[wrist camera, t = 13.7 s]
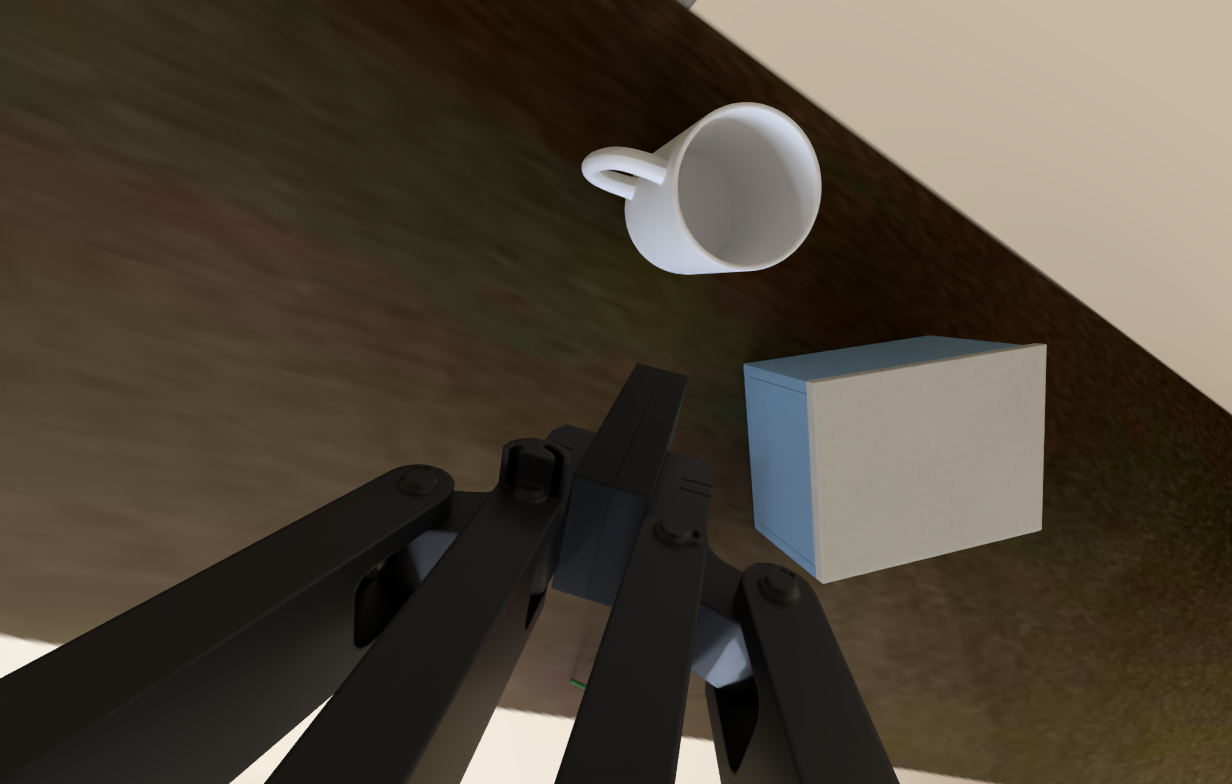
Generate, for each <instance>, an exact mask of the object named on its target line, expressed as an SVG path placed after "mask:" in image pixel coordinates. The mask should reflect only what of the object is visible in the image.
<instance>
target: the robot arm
mask: <svg viewBox="0 0 1232 784" xmlns="http://www.w3.org/2000/svg"><path fill="white" fill-rule="evenodd" d="M688 378H689V376H685V375H681V374H677V373H673V372H669V371H666V370H662V369H658V368H654V367H650V366H646V365H642V364H638V363H637V365H636V366H635V368H634V370H633V371H632V373H631V375H630V377H629V378H628V380H627V382H626V384H625V385H624V387H623V389H622V390H621V392H620V394H619V396H618V397H617V399H616V401H615V403H614V404H613V406H612V408H611V409H610V411H609V413H608V415H607V416H606V418H605V420H604V422H603V423H602V425H601V427H600V428H599V430H598V432H597V433H596V432H593V431H589V430H585V429H582V428H578V427H575V426H571V425H567V424H566V425H564V426H562V427H559V428H557V429H555V430H553V431H551V433H550V434H549V435H548V437H547V438H546V439H545V440H542V439H536V438H521V439H518V440H514V441H510V442H509V443H508V444H506V445H505V446H503V454H502V461H501V469H500V476H499V483H498V484H497V486H496V487H495V488H494V489H493V491H492V492H464V491H454V483H455V482H454V481H453V479H452V477H451V475H450V474H448V473H447V472H445V471H444V470H442V469H440V468H436V467H433V466H430V465H422V464H415V465H407V466H401V467H399V468H396V469H393V470H391V471H389V472H387V473H385V474H383V475H381V476H379V477H378V478H376V479H374V480H372V481H370V482H368V483H366V484H364V485H363V486H361V487H359V488H357V489H355V490H353V491H351V492H349V493H348V494H346V495H344V496H342V497H340V498H338V499H336V500H334V501H333V502H331V503H329V504H327V505H325V506H323V507H321V508H319V509H318V510H316V511H314V512H312V513H310V514H308V515H306V516H304V517H303V518H301V519H299V520H297V521H295V522H293V523H291V524H289V525H288V526H286V527H284V528H282V529H280V530H278V531H276V532H274V533H272V534H271V535H269V536H267V537H265V538H263V539H261V540H259V541H257V542H256V543H254V544H252V545H250V546H248V547H246V548H244V549H242V550H241V551H239V552H237V553H235V554H233V555H231V556H229V557H227V558H226V559H224V560H222V561H220V562H218V563H216V564H214V565H212V566H211V567H209V568H207V569H205V570H203V571H201V572H199V573H197V574H196V575H194V576H192V577H190V578H188V579H186V580H184V581H182V582H181V583H179V584H177V585H175V586H173V587H171V588H169V589H167V590H165V591H164V592H162V593H160V594H158V595H156V596H154V597H152V598H150V599H149V600H147V601H145V602H143V603H141V604H139V605H137V606H135V607H134V608H132V609H130V610H128V611H126V612H124V613H122V614H120V615H119V616H117V617H115V618H113V619H111V620H109V621H107V622H105V623H104V624H102V625H100V626H98V627H96V628H94V629H92V630H90V631H89V632H87V633H85V634H83V635H81V636H79V637H77V638H75V639H74V640H72V641H70V642H68V643H66V644H64V645H62V646H60V647H58V648H57V649H55V650H53V651H51V652H49V653H47V654H45V655H44V656H42V657H40V658H38V659H36V660H34V661H32V662H30V663H28V664H27V665H25V666H23V667H21V668H19V669H17V670H15V671H13V672H12V673H10V674H8V675H6V676H4V677H2V678H0V784H229V783H230V782H232V781H233V780H234V779H235V778H236V777H237V776H238V775H240V774H241V773H242V772H243V771H244V770H245V769H247V768H248V767H249V766H250V765H251V764H253V763H254V762H255V761H256V760H257V759H258V758H260V757H261V756H262V755H263V754H264V753H265V752H267V751H268V750H269V749H270V748H271V747H272V746H273V745H275V744H276V743H277V742H278V741H279V740H281V739H282V738H283V737H284V736H285V735H286V734H288V733H289V732H290V731H291V730H292V729H293V728H295V727H296V726H297V725H298V724H299V723H300V722H302V721H303V720H304V719H305V718H306V717H307V716H309V715H310V714H311V713H312V712H313V711H314V710H315V709H317V708H318V707H319V706H320V705H321V704H323V703H324V702H325V701H326V700H327V699H328V698H330V697H331V696H332V695H333V694H334V695H333V696H332V697H331V698H330V700H329V701H328V702H327V703H326V705H325V706H324V707H323V709H322V710H321V711H320V712H319V714H318V715H317V716H316V718H315V719H314V720H313V721H312V723H311V724H310V725H309V727H308V728H307V729H306V730H305V732H304V733H303V734H302V736H301V737H300V738H299V739H298V741H297V742H296V743H295V745H294V746H293V747H292V748H291V750H290V751H289V752H288V753H287V755H286V756H285V757H284V759H283V760H282V761H281V763H280V764H279V765H278V766H277V768H276V769H275V770H274V771H273V773H272V774H271V775H270V777H269V778H268V779H267V780H266V782H265V783H264V784H460V782H461V780H462V778H463V776H464V774H465V772H466V770H467V767H468V765H469V763H470V761H471V759H472V757H473V755H474V752H475V750H476V748H477V746H478V744H479V742H480V740H481V737H482V735H483V733H484V731H485V729H486V727H487V725H488V723H489V721H490V719H491V716H492V714H493V712H494V710H495V708H496V706H497V704H498V702H499V700H500V697H501V695H502V693H503V691H504V689H505V687H506V685H507V683H508V681H509V678H510V676H511V674H512V672H513V670H514V668H515V666H516V664H517V661H518V659H519V657H520V655H521V653H522V651H523V649H524V647H525V645H526V642H527V640H528V638H529V636H530V634H531V632H532V630H533V628H534V625H535V623H536V621H537V619H538V617H539V615H540V613H541V611H542V608H543V606H544V602H545V596H546V591H547V586H548V584H549V582H550V580H551V578H552V576H553V574H554V577H553V582H552V589H555V590H559V591H562V592H565V593H568V594H571V595H575V596H578V597H581V598H584V599H587V600H591V601H594V602H597V603H600V604H604V605H607V606H610V607H612V610H611V613H610V616H609V619H608V622H607V625H606V628H605V631H604V634H603V637H602V640H601V643H600V646H599V650H598V653H597V656H596V659H595V662H594V665H593V668H592V671H591V674H590V677H589V680H588V683H587V686H586V689H585V692H584V695H583V698H582V701H581V704H580V707H579V710H578V713H577V716H576V719H575V722H574V725H573V728H572V731H571V734H570V738H569V741H568V744H567V747H566V750H565V753H564V756H563V759H562V762H561V765H560V768H559V771H558V774H557V777H556V780H555V783H554V784H675V778H676V770H677V764H678V757H679V756H678V755H679V749H680V742H681V735H682V728H683V721H684V714H685V706H686V699H687V692H688V685H689V678H690V671H691V672H693V673H695V674H696V675H698V676H699V677H701V678H703V679H704V680H706V683H705V694H706V700H707V705H708V711H709V717H710V723H711V728H712V734H713V740H714V745H715V751H716V757H717V763H718V768H719V774H720V780H721V784H900V783H899V781H898V779H897V776H896V774H895V772H894V770H893V767H892V765H891V763H890V761H889V758H888V756H887V754H886V752H885V749H884V747H883V745H882V743H881V740H880V738H879V736H878V733H877V731H876V729H875V727H874V724H873V722H872V720H871V718H870V715H869V713H868V711H867V709H866V706H865V704H864V702H863V700H862V697H861V695H860V693H859V691H858V688H857V686H856V684H855V681H854V679H853V677H852V675H851V672H850V670H849V668H848V666H847V663H846V661H845V659H844V657H843V654H842V652H841V650H840V648H839V645H838V643H837V641H836V639H835V636H834V634H833V632H832V629H831V627H830V625H829V623H828V620H827V618H826V616H825V614H824V611H823V609H822V607H821V605H820V602H819V600H818V598H817V596H816V593H815V592H814V590H813V589H812V588H811V586H810V585H809V583H808V582H807V581H805V580H804V579H803V578H802V577H801V576H799V575H798V574H797V573H795V572H793V571H791V570H789V569H787V568H785V567H782V566H779V565H775V564H771V563H756V564H753V565H751V566H748V567H747V568H746V569H745V571H744V572H741V571H739V570H737V569H735V568H733V567H732V566H730V565H728V564H727V563H725V562H724V561H722V560H721V559H720V558H719V557H718V556H716V555H715V554H714V552H713V551H712V550H711V548H710V547H709V545H708V539H707V535H706V530H707V523H708V516H709V509H710V502H711V495H712V487H713V482H714V475H715V474H714V472H713V471H712V469H711V467H710V465H709V463H708V461H704V460H700V459H697V458H693V457H689V456H686V455H682V454H678V453H675V452H671V451H670V448H671V444H672V441H673V437H674V433H675V429H676V425H677V421H678V417H679V413H680V409H681V406H682V402H683V398H684V394H685V390H686V386H687V382H688ZM375 566H376V567H375ZM374 567H375V568H374ZM371 569H372V570H371ZM370 570H371V571H370Z"/></svg>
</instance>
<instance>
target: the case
mask: <svg viewBox="0 0 1232 784" xmlns="http://www.w3.org/2000/svg"><path fill="white" fill-rule="evenodd" d="M1016 346H1022V345H1017V344H1008V343H998V342H988V341H979V340H969V339H959V338H949V337H940V336H930V335H929V336H923V337H916V338H910V339H903V340H896V341H890V342H883V343H877V344H870V345H864V346H857V347H851V348H844V349H838V350H831V351H824V352H818V353H811V354H805V355H798V356H792V357H785V358H779V359H772V360H765V361H759V362H752V363H746V364H744V379H745V393H746V407H747V422H748V436H749V450H750V465H751V479H752V493H753V507H754V522H755V529H757V530H758V531H759V532H760V533H761V534H763V535H764V536H765V537H766V538H768V539H769V540H770V541H771V542H772V543H774V544H775V545H776V546H777V547H779V548H780V549H781V550H782V551H783V552H785V553H786V554H787V555H788V556H790V557H791V558H792V559H793V560H794V561H796V562H797V563H798V564H799V565H801V566H802V567H803V568H804V569H805V570H807V571H808V572H809V573H810V574H811V575H813V576H814V577H816V569H815V550H814V530H813V510H812V490H811V470H810V450H809V431H808V411H807V391H806V381H808V380H814V379H820V378H826V377H833V376H839V375H845V374H851V373H857V372H863V371H869V370H875V369H881V368H888V367H894V366H900V365H906V364H912V363H918V362H924V361H930V360H936V359H942V358H949V357H955V356H961V355H967V354H973V353H979V352H985V351H991V350H997V349H1004V348H1010V347H1016Z"/></svg>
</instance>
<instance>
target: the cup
mask: <svg viewBox="0 0 1232 784" xmlns="http://www.w3.org/2000/svg"><path fill="white" fill-rule="evenodd" d="M610 170H620V171H624V172H628V173H631V174H634V176H633V177H630V176H627V175H623V174H619V173H616V172H613V171H610ZM582 172H583V175H584V177H585V178H586V179H587V180H588V181H589V182H590V183H592V184H593V185H595V186H597V187H599V188H601V189H603V190H606V191H608V192H611V193H613V194H616V195H619V196H621V197H624V198H626V199H625V219H626V225H627V228H628V232H629V234H630V237H631V239H632V241H633V243H634V244H635V246H636V248H637V249H638V250H639V252H640V253H641V254H642V255H643V256H644V257H645V258H646V259H647V260H648V261H649V262H651V263H652V264H654V265H655V266H657V267H659V268H661V269H663V270H666V271H669V272H672V273H677V274H706V273H724V272H741V271H755V270H760V269H765V268H768V267H771V266H773V265H775V264H777V263H779V262H781V261H783V260H784V259H786V258H787V257H788V256H790V255H791V254H792V253H793V252H794V251H795V250H796V249H797V248H798V247H799V246H800V245H801V244H802V242H803V241H804V240H805V238H806V237H807V235H808V234H809V232H810V230H811V228H812V226H813V224H814V221H815V219H816V216H817V213H818V209H819V205H820V198H821V174H820V168H819V163H818V160H817V157H816V154H815V151H814V149H813V147H812V145H811V143H810V141H809V139H808V138H807V136H806V134H805V133H804V132H803V131H802V129H801V128H800V127H799V126H798V125H797V124H796V123H795V122H794V121H793V120H792V119H791V118H790V117H788V116H787V115H785V114H784V113H782V112H781V111H779V110H777V109H775V108H772V107H770V106H767V105H764V104H759V103H752V102H740V103H734V104H730V105H726V106H723V107H721V108H718V109H716V110H715V111H713V112H711V113H709V114H708V115H707V116H705V117H704V118H702V119H701V120H699V121H698V122H697V123H695V124H694V125H692V126H691V127H689V128H688V129H687V130H685V131H684V132H682V133H681V134H679V135H678V136H677V137H675V138H674V139H672V140H671V141H670V142H668V143H667V144H665V145H664V146H662V147H661V148H660V149H658V150H657V151H655V152H654V153H653V154H651V153H648V152H644V151H641V150H637V149H632V148H626V147H608V148H603V149H600V150H596V151H594V152H592V153H590V154H589V155H588V156H587V157H586V158H585V159H584V161H583V163H582Z"/></svg>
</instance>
